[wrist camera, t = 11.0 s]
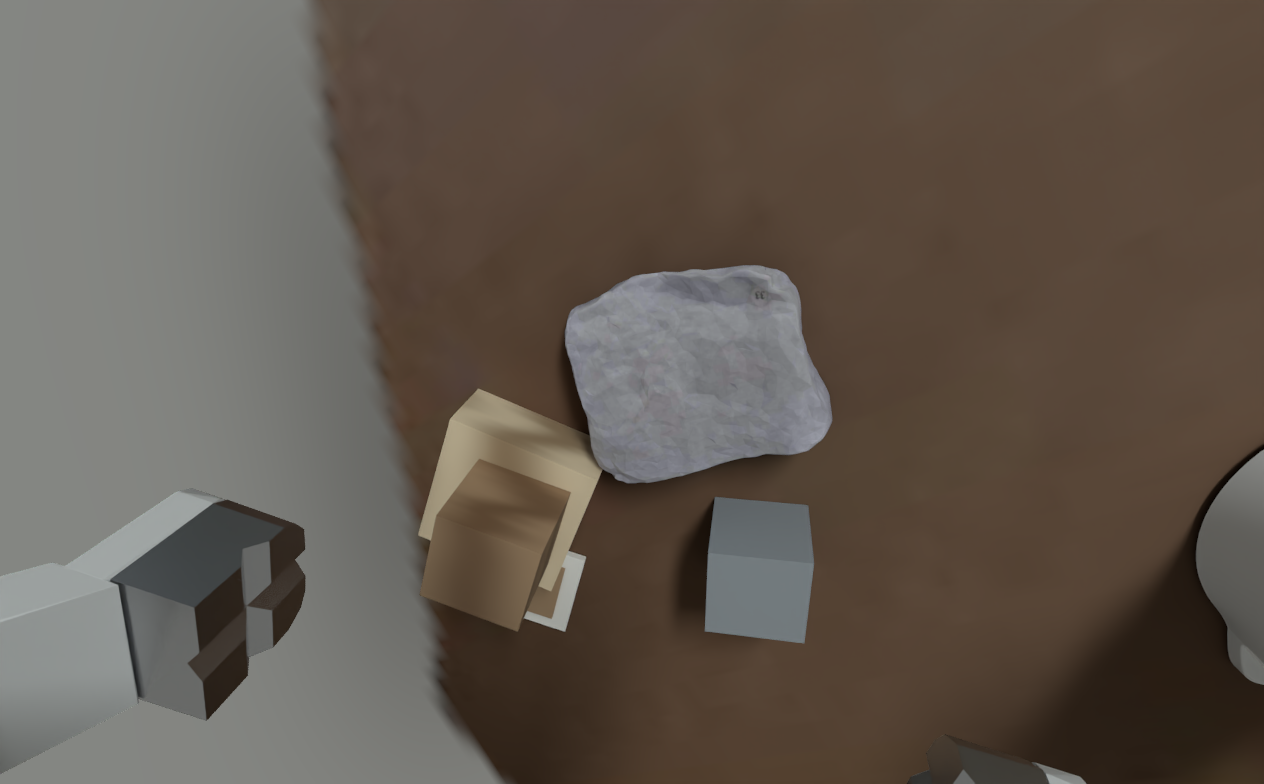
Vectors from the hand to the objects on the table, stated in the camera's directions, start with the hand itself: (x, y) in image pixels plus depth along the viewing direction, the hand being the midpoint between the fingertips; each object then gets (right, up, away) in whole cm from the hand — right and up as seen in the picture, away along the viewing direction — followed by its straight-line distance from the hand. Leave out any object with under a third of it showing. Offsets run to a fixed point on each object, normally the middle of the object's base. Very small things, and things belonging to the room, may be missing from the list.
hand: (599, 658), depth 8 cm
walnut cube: (-6, -3, +27) cm, 28 cm away
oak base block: (-6, -1, +30) cm, 31 cm away
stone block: (+4, +5, +26) cm, 27 cm away
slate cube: (+8, -5, +29) cm, 31 cm away
